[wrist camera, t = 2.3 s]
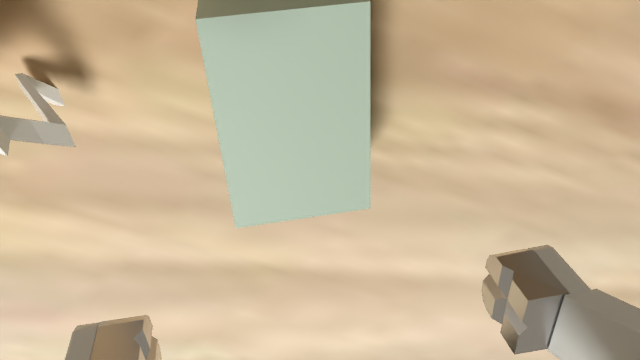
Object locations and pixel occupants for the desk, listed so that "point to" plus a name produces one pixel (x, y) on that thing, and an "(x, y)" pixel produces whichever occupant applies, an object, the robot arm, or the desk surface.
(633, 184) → the desk surface
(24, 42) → the desk surface
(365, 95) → the card box
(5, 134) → the origami figure
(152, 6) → the desk surface
